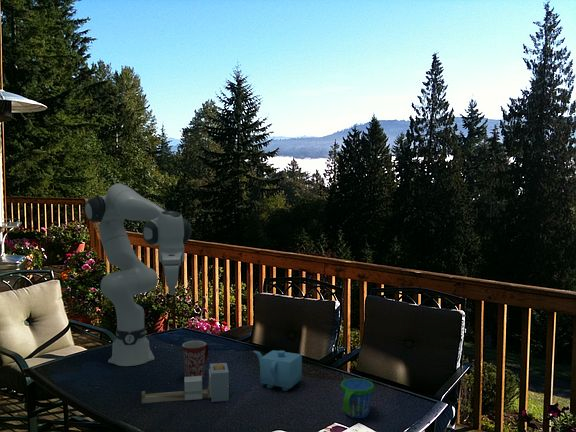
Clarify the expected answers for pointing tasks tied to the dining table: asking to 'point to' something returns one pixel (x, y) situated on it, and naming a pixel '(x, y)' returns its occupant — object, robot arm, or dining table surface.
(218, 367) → the plunger
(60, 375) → the dining table surface
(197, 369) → the mug
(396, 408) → the dining table surface
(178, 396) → the rail
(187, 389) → the carriage
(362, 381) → the snack cup
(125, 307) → the robot arm
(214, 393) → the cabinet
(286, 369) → the teapot
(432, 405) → the dining table surface
